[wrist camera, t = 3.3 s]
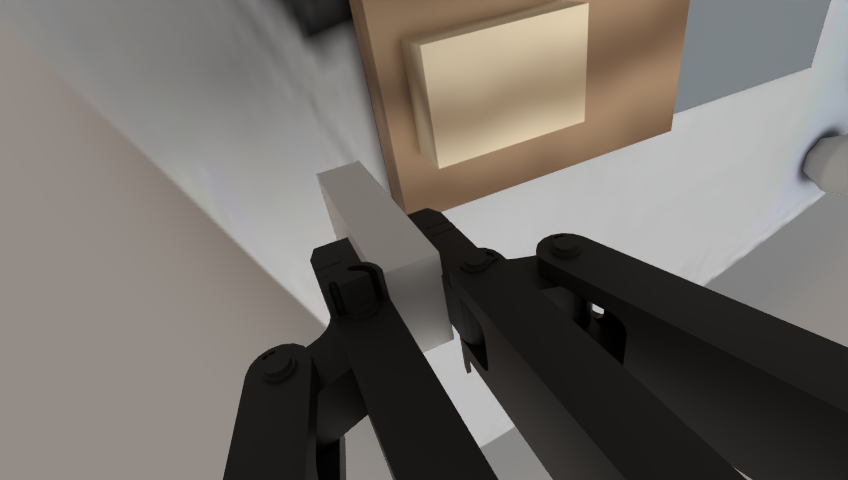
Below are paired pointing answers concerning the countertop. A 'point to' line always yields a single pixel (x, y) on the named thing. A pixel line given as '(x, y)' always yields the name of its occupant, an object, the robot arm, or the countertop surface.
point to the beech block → (497, 80)
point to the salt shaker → (829, 164)
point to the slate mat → (745, 45)
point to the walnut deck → (480, 176)
